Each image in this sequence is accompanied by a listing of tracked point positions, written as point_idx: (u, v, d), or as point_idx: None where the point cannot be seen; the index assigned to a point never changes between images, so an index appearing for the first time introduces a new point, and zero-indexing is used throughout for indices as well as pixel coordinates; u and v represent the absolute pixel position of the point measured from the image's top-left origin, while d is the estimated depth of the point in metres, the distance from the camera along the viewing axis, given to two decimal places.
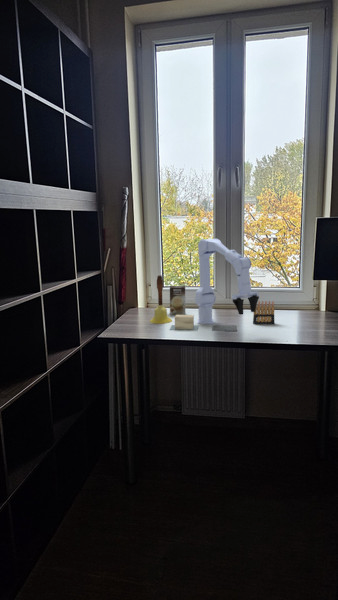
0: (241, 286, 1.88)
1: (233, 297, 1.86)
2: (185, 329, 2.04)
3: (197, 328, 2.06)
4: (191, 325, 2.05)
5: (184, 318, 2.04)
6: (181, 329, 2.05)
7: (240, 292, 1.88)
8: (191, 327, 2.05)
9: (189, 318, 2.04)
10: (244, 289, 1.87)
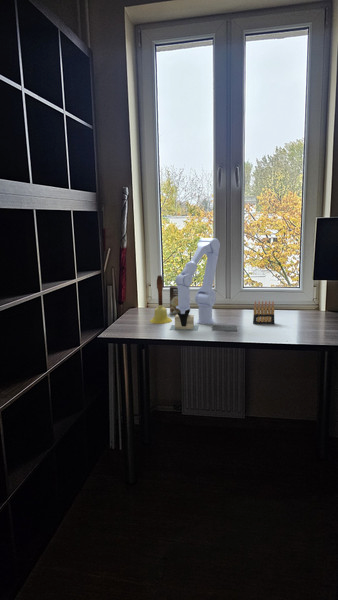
0: None
1: None
2: (185, 329, 2.04)
3: (197, 328, 2.06)
4: (191, 325, 2.05)
5: None
6: (181, 329, 2.05)
7: None
8: (191, 327, 2.05)
9: (189, 318, 2.04)
10: None
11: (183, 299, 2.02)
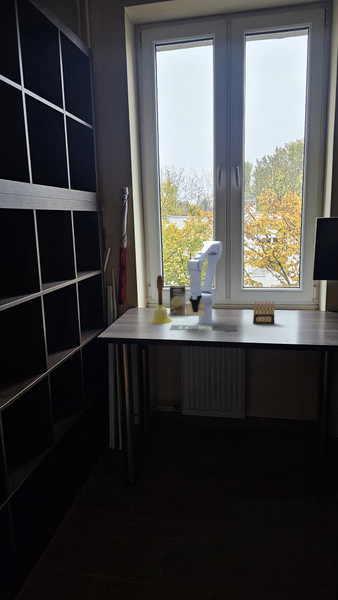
0: None
1: None
2: (185, 329, 2.04)
3: (197, 328, 2.06)
4: (202, 311, 2.03)
5: None
6: (181, 329, 2.05)
7: None
8: (202, 314, 2.03)
9: (200, 305, 2.02)
10: None
11: (195, 285, 2.00)
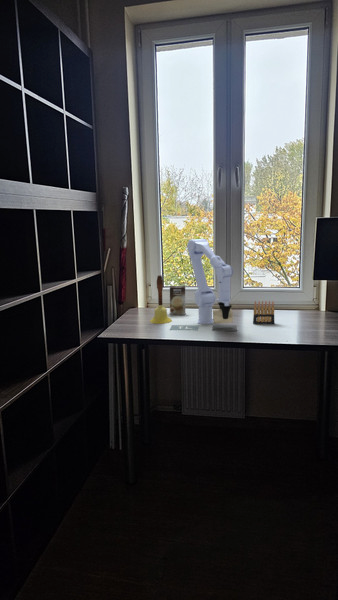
0: None
1: None
2: (185, 329, 2.04)
3: (197, 328, 2.06)
4: (230, 318, 2.02)
5: None
6: (181, 329, 2.05)
7: None
8: (231, 321, 2.02)
9: (229, 312, 2.01)
10: None
11: (225, 291, 1.99)
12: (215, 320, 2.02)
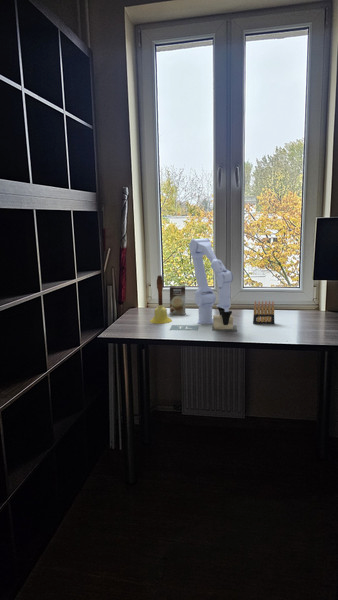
0: None
1: None
2: (185, 329, 2.04)
3: (197, 328, 2.06)
4: (231, 325, 2.02)
5: None
6: (181, 329, 2.05)
7: None
8: (231, 327, 2.03)
9: (229, 318, 2.02)
10: None
11: (225, 297, 1.99)
12: (215, 326, 2.02)
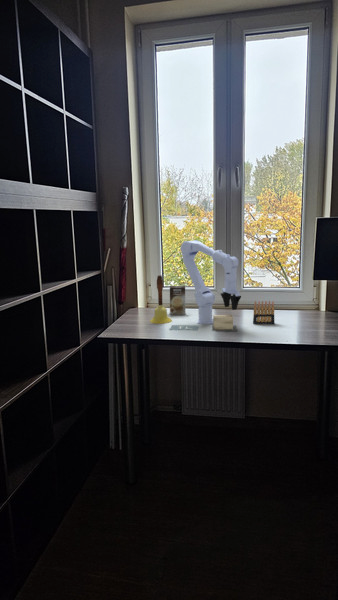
0: None
1: None
2: (185, 329, 2.04)
3: (197, 328, 2.06)
4: (231, 325, 2.02)
5: (224, 318, 2.02)
6: (181, 329, 2.05)
7: None
8: (231, 327, 2.03)
9: (229, 318, 2.02)
10: None
11: (233, 282, 2.02)
12: (215, 326, 2.02)
